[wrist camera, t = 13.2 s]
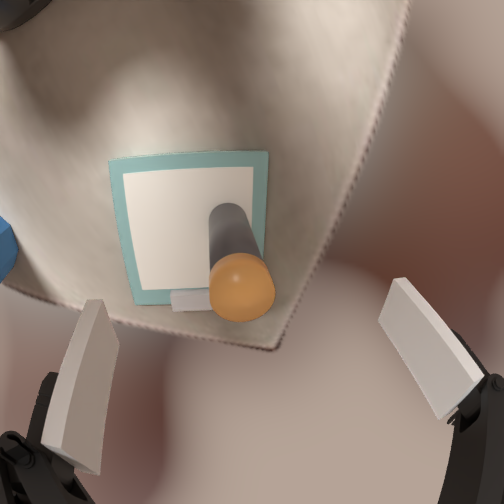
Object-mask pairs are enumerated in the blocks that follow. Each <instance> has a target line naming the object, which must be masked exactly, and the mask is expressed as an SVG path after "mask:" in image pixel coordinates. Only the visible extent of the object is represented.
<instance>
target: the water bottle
mask: <svg viewBox="0 0 504 504" xmlns="http://www.w3.org/2000/svg"><path fill="white" fill-rule="evenodd" d="M18 250H19V249H18V246H17V243H16V241H15V238H14V235H13V232H12V228H11V225H10V224H8V223H7V222H6V221H5V220H4V219H3V218H2V217H1V216H0V283H1V282H2V280H3V279H4V278H5V277H6V275H7V274H8V273H9V272H10V271H11V269H12V268H13V267H14V264H15V260H16V257H17V253H18Z"/></svg>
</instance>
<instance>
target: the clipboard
mask: <svg viewBox="0 0 504 504" xmlns="http://www.w3.org/2000/svg"><path fill="white" fill-rule="evenodd" d="M268 159H269V152H268V151H200V152H181V153H166V154H154V155H143V156H134V157H125V158H117V159H111V160H109V161H108V162H109V172H110V180H111V188H112V195H113V202H114V209H115V215H116V221H117V227H118V232H119V238H120V243H121V248H122V252H123V257H124V262H125V266H126V270H127V275H128V279H129V283H130V287H131V291H132V295H133V298H134V302H135V305H161V304H171V305H172V310H173V312H176V311H200V310H213V308H212V307H211V304H210V299H209V275H210V261H209V216H210V213H211V212H212V210H213V209H214V208H215V207H217V206H218V205H220V204H223V203H234V204H236V205H238V206H240V207H241V208H242V209H243V210H244V211H245V213H246V216H247V219H248V221H249V224H250V227H251V229H252V232H253V235H254V237H255V240H256V243H257V245H258V248H259V251H260V253H261V256H262V259H263V253H264V236H265V218H266V199H267V179H268Z"/></svg>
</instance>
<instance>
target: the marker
mask: <svg viewBox="0 0 504 504" xmlns="http://www.w3.org/2000/svg"><path fill="white" fill-rule="evenodd" d="M209 261H210V275H209V299H210V304H211V307H212V308H213V310H214V311H215V312H216V313H217V314H218V315H219V316H220V317H222V318H224V319H226V320H229V321H234V322H246V321H251V320H254V319H256V318H258V317H260V316H262V315H263V314H265V313H266V312H267V311H268V310H269V309H270V307H271V306H272V304H273V302H274V299H275V287H274V284H273V281H272V279H271V276H270V273H269V271H268V268H267V266H266V265H265V263H264V262H263V259H262V256H261V253H260V251H259V248H258V245H257V243H256V240H255V237H254V235H253V232H252V229H251V227H250V224H249V221H248V219H247V216H246V213H245V211H244V210H243V209H242V208H241V207H240V206H238V205H236V204H234V203H223V204H220V205H218V206H217V207H215V208H214V209H213V210H212V212H211V213H210V216H209Z"/></svg>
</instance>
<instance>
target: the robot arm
mask: <svg viewBox="0 0 504 504" xmlns="http://www.w3.org/2000/svg"><path fill="white" fill-rule="evenodd" d="M50 1H51V0H0V31H7V30H10V29H13V28H15V27H18V26H19V25H21V24H23V23H25V22H26V21H28V20H29V19H30V18H32V17H33V16H34V15H36V14H37V13H38V12H39V11H41V10H42V9H43V8H44V7H45V6H46V5H47V4H48V3H49V2H50ZM378 322H379V323H380V325H381V326H382V328H383V329H384V331H385V332H386V334H387V336H388V337H389V338H390V340H391V342H392V343H393V345H394V346H395V348H396V350H397V351H398V353H399V354H400V356H401V357H402V359H403V361H404V362H405V364H406V365H407V367H408V369H409V370H410V372H411V374H412V375H413V377H414V379H415V380H416V382H417V384H418V385H419V387H420V389H421V390H422V392H423V394H424V396H425V397H426V399H427V401H428V403H429V404H430V406H431V408H432V410H433V411H434V413H435V415H436V417H437V419H438V420H439V419H441V418H443V417H445V416H446V415H448V414H450V413H451V412H452V411H453V410H454V409H455V408H456V407H457V406H458V408H459V410H458V411H456V413H455V414H453V415H452V416H451V417H450V419H449V420H448V422H447V424H449V423H451V422H452V421H453V420H454V419H455V421H453V423H452V425H454V433H453V440H452V446H451V451H450V457H449V462H448V466H447V471H446V475H445V479H444V483H443V487H442V491H441V494H440V497H439V501H438V504H504V378H502V376H500V375H498V374H491V375H490V374H489V373H488V372H487V370H486V369H485V368H484V366H483V365H482V363H481V362H480V361H479V359H478V358H477V357H476V355H475V354H474V353H473V351H471V349H470V348H469V346H468V345H466V342H465V341H464V340H463V339H462V337H461V336H460V335H459V334H458V333H456V332H455V331H454V330H452V329H449V328H448V326H447V325H446V324H445V323H444V321H442V319H441V318H440V317H439V315H438V314H437V313H436V312H435V311H434V309H433V308H432V307H431V306H430V305H429V304H428V303H427V301H426V300H425V299H424V298H423V297H422V296H421V295H420V293H419V292H418V291H417V290H416V289H415V288H414V287H413V286H412V284H411V283H410V282H409V281H408V280H407V279H406V278H405V277H404V278H397V279H394V280H393V282H392V285H391V288H390V291H389V293H388V296H387V299H386V301H385V304H384V307H383V309H382V312H381V314H380V317H379V319H378ZM119 345H120V344H119V341H118V339H117V336H116V334H115V331H114V329H113V326H112V324H111V321H110V318H109V316H108V313H107V310H106V307H105V305H104V302H103V299H99V300H87V301H86V303H85V306H84V308H83V310H82V313H81V315H80V318H79V320H78V322H77V325H76V327H75V330H74V333H73V335H72V338H71V340H70V343H69V345H68V348H67V351H66V354H65V357H64V359H63V362H62V365H61V368H60V371H59V373H55V372H49V373H48V375H47V376H46V377H45V379H44V380H43V381H42V384H41V387H40V390H39V396H38V397H37V399H36V405H35V406H34V410H33V413H32V418H31V421H30V425H29V429H28V433H27V437H26V439H25V438H24V437H22V436H21V435H20V434H19V433H17V432H15V431H7V432H5V433H4V434H2V435H1V436H0V504H95V502H94V501H93V500H92V498H91V497H90V495H89V494H88V493H87V491H86V490H85V488H84V487H83V485H82V484H81V483H80V481H79V479H78V478H77V476H76V475H75V474H74V467H75V468H77V469H78V470H80V471H81V472H86V473H90V474H95V475H100V467H101V455H102V444H103V436H104V428H105V420H106V413H107V407H108V401H109V395H110V389H111V383H112V377H113V373H114V368H115V363H116V358H117V354H118V349H119Z"/></svg>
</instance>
